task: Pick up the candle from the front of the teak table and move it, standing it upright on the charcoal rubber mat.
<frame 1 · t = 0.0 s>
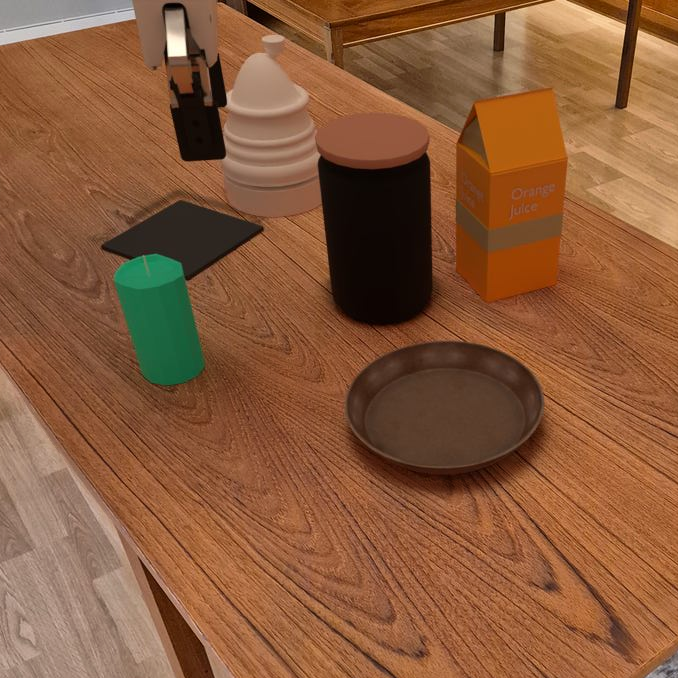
hand: (206, 131, 69), 24 cm above the table, tool pointing down, fingers open, 9 cm apart
coffee jar: (383, 302, 95), on the table
candle: (174, 368, 86), on the table
honey pot: (279, 193, 113), on the table
plant saucer: (444, 425, 81), on the table
mat: (184, 239, 104), on the table
orange juice: (505, 278, 99), on the table
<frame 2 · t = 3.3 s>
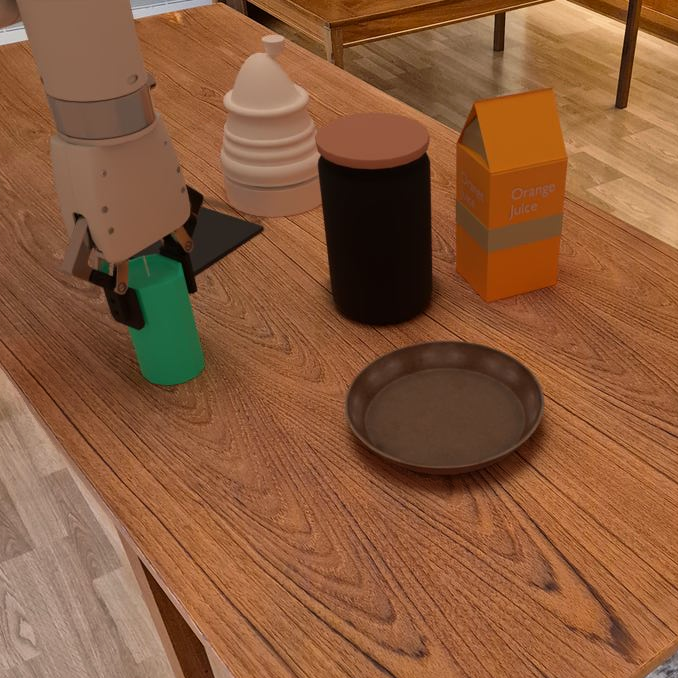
hand: (156, 304, 81), 7 cm above the table, tool pointing down, fingers closed on candle, 6 cm apart
candle: (174, 368, 86), on the table, touching gripper
everything else where it was.
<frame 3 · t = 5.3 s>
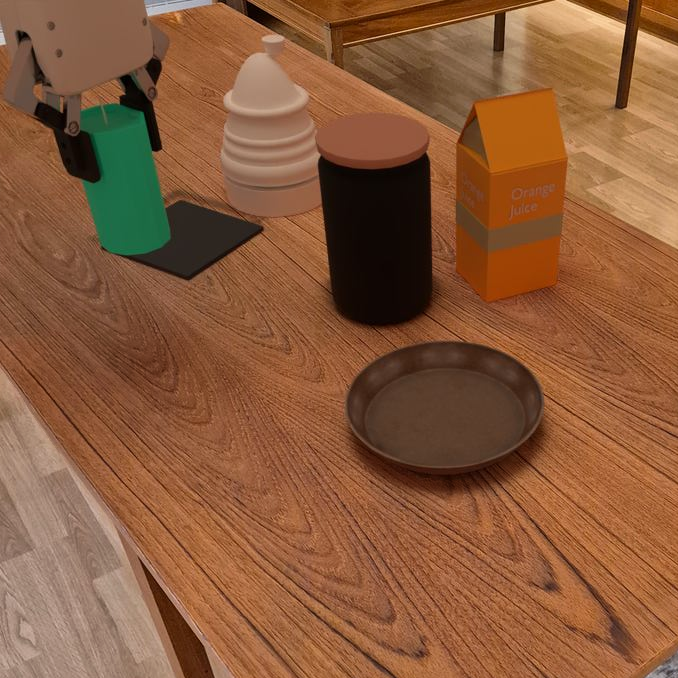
hand: (115, 160, 73), 20 cm above the table, tool pointing down, fingers closed on candle, 6 cm apart
candle: (136, 239, 78), point 13 cm above the table, touching gripper
everything else where it was.
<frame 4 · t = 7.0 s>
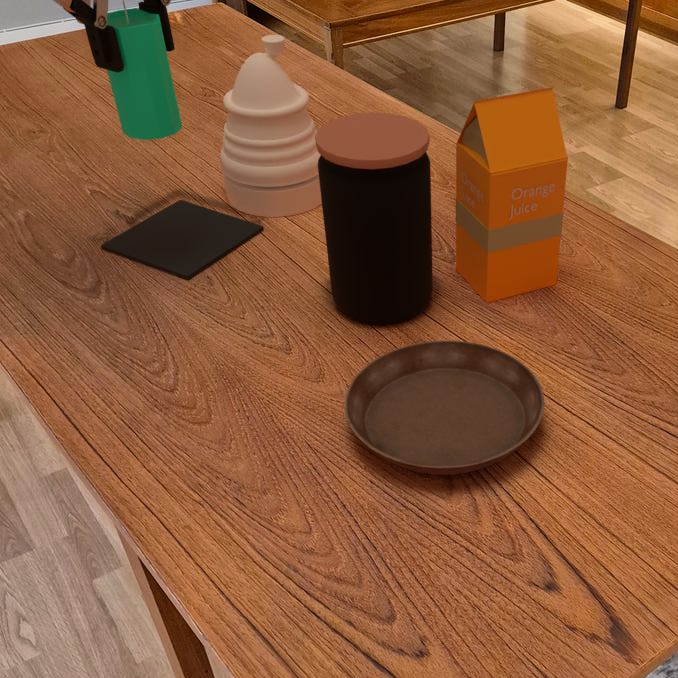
hand: (136, 56, 87), 21 cm above the table, tool pointing down, fingers closed on candle, 6 cm apart
candle: (153, 129, 92), point 14 cm above the table, touching gripper
everything else where it was.
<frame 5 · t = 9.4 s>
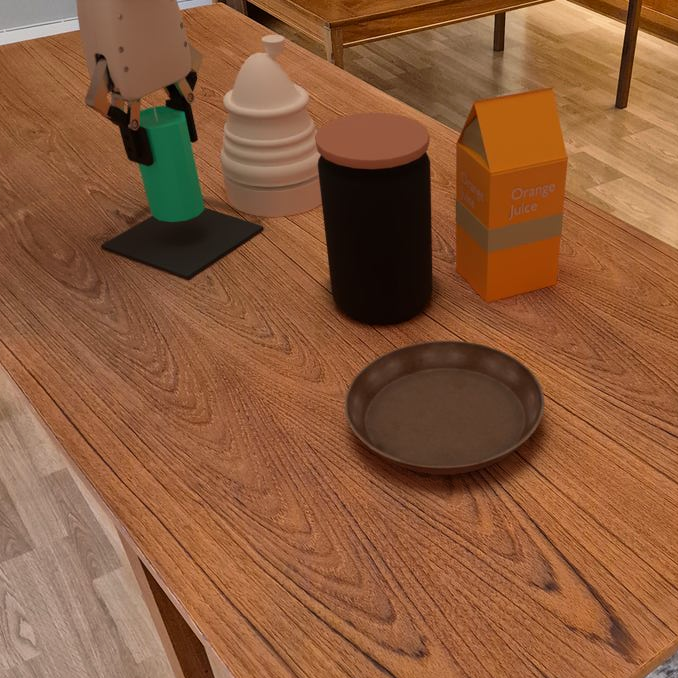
hand: (163, 149, 96), 11 cm above the table, tool pointing down, fingers closed on candle, 6 cm apart
candle: (178, 210, 101), point 4 cm above the table, touching gripper
everything else where it was.
when the fingers open (8 cm above the table, at t = 10.8 s): candle stays where it is, resting on mat.
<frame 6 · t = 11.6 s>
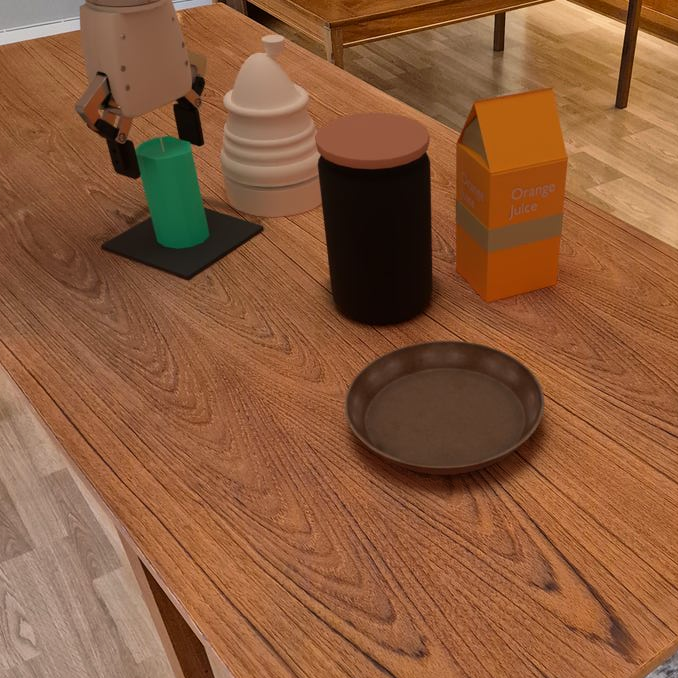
hand: (161, 158, 97), 10 cm above the table, tool pointing down, fingers open, 9 cm apart
candle: (183, 237, 103), resting on mat
everything else where it was.
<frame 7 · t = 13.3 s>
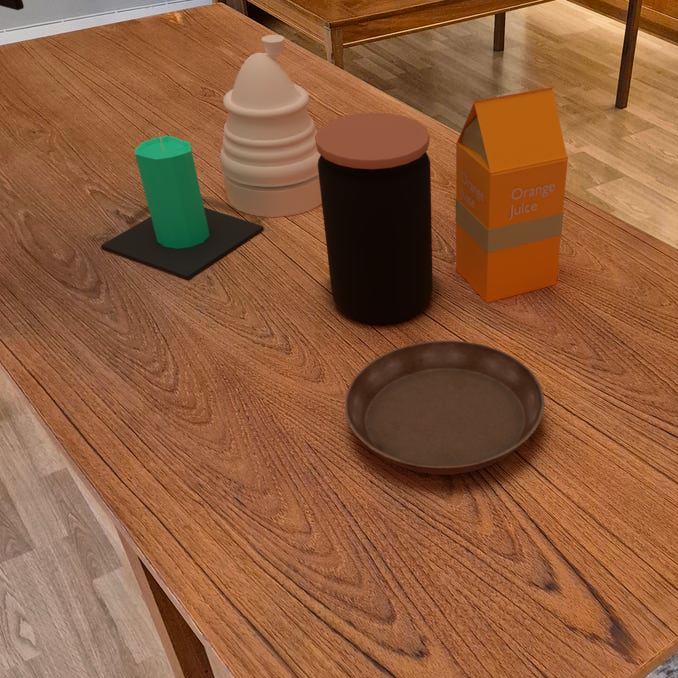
nothing on the table moved.
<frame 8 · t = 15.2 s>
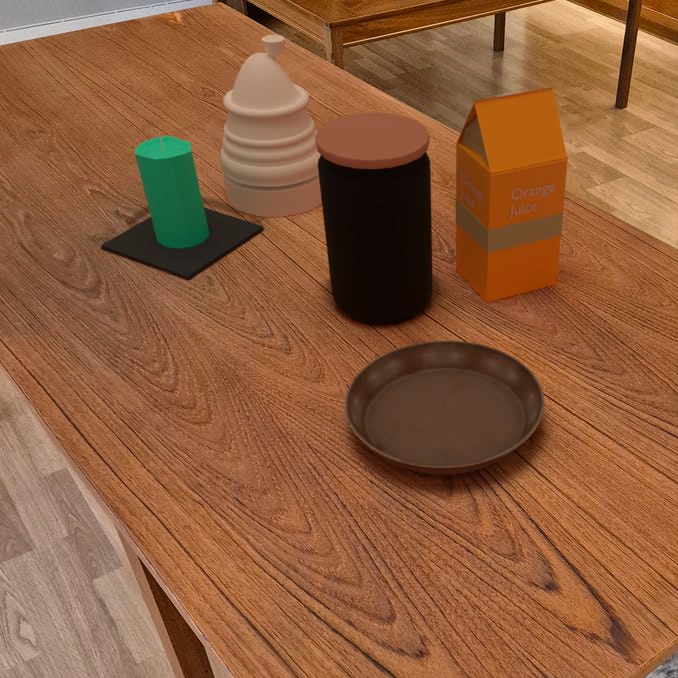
nothing on the table moved.
at the end: candle inside the target area on the mat (0.0 cm from its centre), point 0.3 cm above the mat's base; candle tilted 0° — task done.
